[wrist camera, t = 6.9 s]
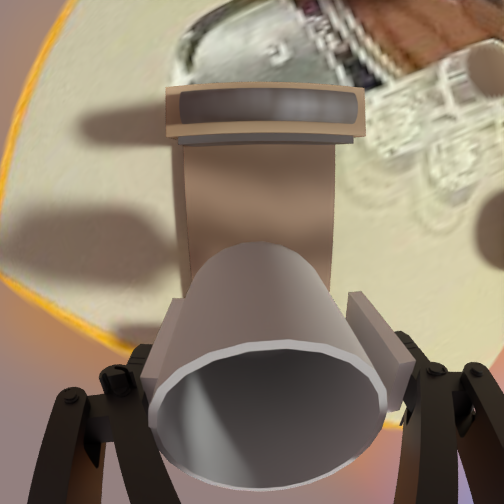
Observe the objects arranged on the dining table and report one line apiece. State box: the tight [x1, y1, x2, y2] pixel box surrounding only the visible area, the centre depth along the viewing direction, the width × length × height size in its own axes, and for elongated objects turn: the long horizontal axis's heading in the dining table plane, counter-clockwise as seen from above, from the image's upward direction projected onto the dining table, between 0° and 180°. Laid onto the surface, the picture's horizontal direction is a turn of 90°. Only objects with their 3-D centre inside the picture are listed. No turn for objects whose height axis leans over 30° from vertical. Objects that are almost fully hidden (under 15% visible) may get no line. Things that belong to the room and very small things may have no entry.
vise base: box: [183, 144, 335, 291], centre depth 21 cm, size 22×11×8 cm, turn 1°
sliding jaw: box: [166, 82, 366, 147], centre depth 17 cm, size 3×10×9 cm, turn 91°
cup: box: [148, 241, 388, 491], centre depth 13 cm, size 7×10×9 cm
